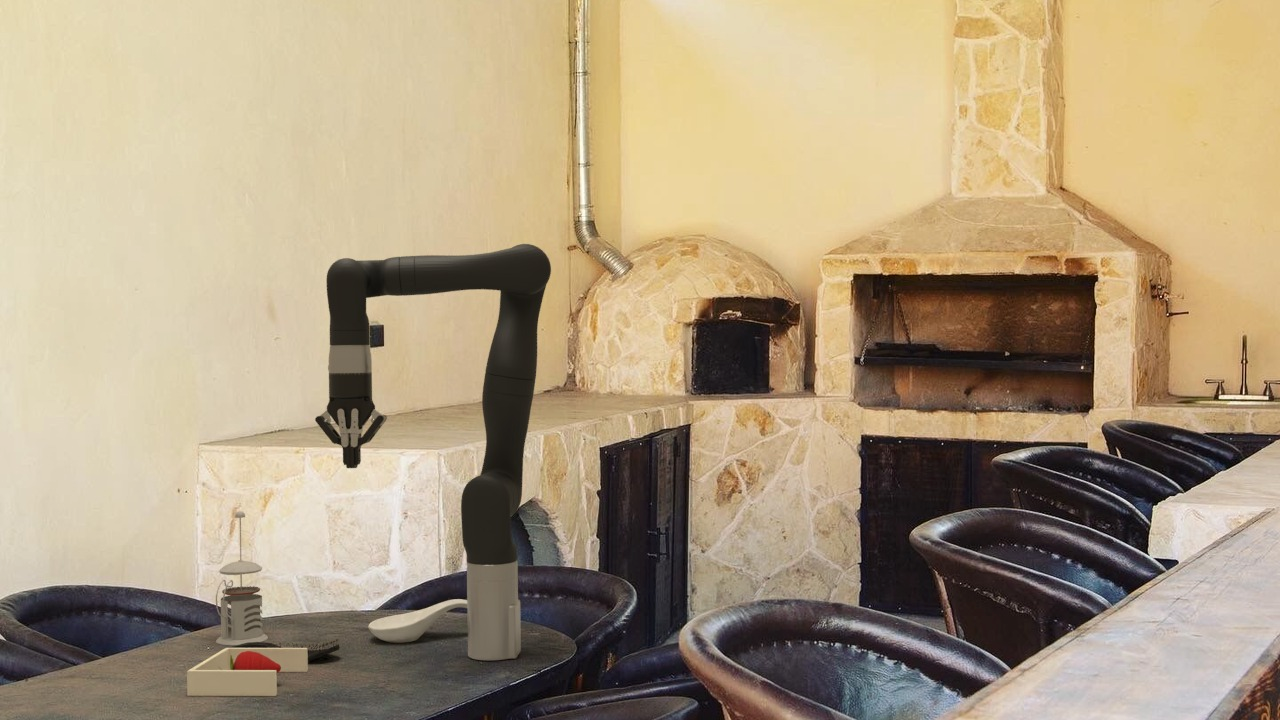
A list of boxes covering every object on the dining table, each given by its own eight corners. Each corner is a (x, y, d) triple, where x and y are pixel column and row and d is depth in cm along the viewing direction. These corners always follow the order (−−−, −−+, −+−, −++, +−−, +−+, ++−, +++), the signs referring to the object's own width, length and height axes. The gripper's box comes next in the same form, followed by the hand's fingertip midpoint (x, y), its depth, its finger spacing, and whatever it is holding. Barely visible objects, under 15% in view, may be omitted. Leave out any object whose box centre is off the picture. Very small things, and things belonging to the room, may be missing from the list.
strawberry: (281, 643, 222) (219, 647, 219) (280, 655, 215) (216, 660, 212) (281, 677, 222) (220, 682, 220) (280, 691, 215) (217, 695, 213)
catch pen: (307, 670, 228) (307, 647, 228) (275, 696, 211) (274, 671, 211) (226, 670, 229) (226, 647, 229) (187, 695, 212) (187, 671, 212)
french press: (278, 635, 257) (276, 509, 256) (242, 648, 246) (240, 516, 246) (236, 632, 260) (234, 507, 260) (198, 645, 249) (196, 514, 249)
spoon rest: (368, 649, 245) (368, 611, 245) (368, 635, 257) (367, 599, 257) (494, 641, 250) (493, 604, 250) (488, 628, 262) (487, 593, 262)
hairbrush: (239, 633, 248) (349, 635, 239) (240, 652, 248) (350, 655, 239) (209, 642, 240) (321, 645, 231) (210, 662, 240) (323, 666, 231)
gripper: (392, 370, 236) (393, 465, 236) (320, 371, 237) (322, 466, 237) (381, 370, 228) (382, 469, 229) (307, 371, 229) (308, 470, 229)
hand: (351, 467), depth 233 cm, fingers closed
